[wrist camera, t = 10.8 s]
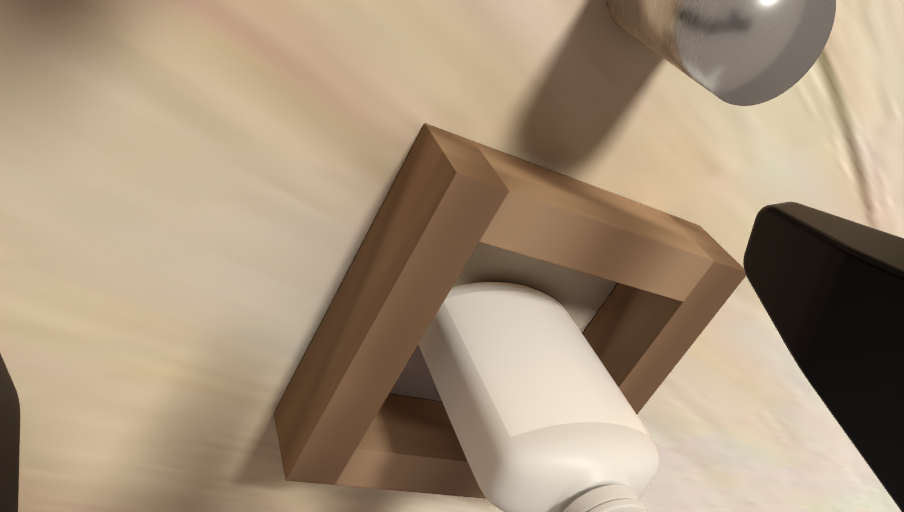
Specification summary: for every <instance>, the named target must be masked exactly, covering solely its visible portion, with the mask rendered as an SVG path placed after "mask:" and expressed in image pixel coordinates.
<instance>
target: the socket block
mask: <svg viewBox="0 0 904 512" xmlns="http://www.w3.org/2000/svg"><path fill="white" fill-rule="evenodd" d="M479 242H482V243H486V244H489V245H492V246H496V247H499V248H503V249H506V250H509V251H513V252H516V253H520V254H523V255H526V256H530V257H533V258H536V259H540V260H543V261H547V262H550V263H553V264H557V265H560V266H564V267H567V268H570V269H574V270H577V271H581V272H584V273H587V274H591V275H594V276H598V277H601V278H604V279H608V280H611V281H615V282H618V284H617V286H616V287H615V288H614V290H613V291H612V293H611V294H610V296H609V297H608V298H607V300H606V301H605V303H604V304H603V305H602V307H601V308H600V310H599V311H598V313H597V314H596V315H595V317H594V318H593V320H592V321H591V323H590V324H589V325H588V327H587V328H586V330H585V331H584V332H583V336H584V337H585V339H586V340H587V342H588V343H589V344H590V346H591V347H592V349H593V350H594V352H595V353H596V355H597V356H598V358H599V359H600V361H601V362H602V364H603V365H604V367H605V368H606V370H607V371H608V373H609V374H610V376H611V377H612V379H613V380H614V382H615V383H616V385H617V386H618V388H619V389H620V391H621V392H622V394H623V395H624V396H625V398H626V399H627V401H628V402H629V404H630V405H631V407H632V408H633V410H634V411H635V413H636V415H637V414H638V413H639V411H640V410H641V409H642V408H643V406H644V405H645V404H646V402H647V401H648V400H649V399H650V397H651V396H652V395H653V394H654V392H655V391H656V390H657V388H658V387H659V386H660V385H661V383H662V382H663V381H664V380H665V378H666V377H667V376H668V374H669V373H670V372H671V371H672V369H673V368H674V367H675V365H676V364H677V363H678V362H679V360H680V359H681V358H682V357H683V355H684V354H685V353H686V351H687V350H688V349H689V348H690V346H691V345H692V344H693V343H694V341H695V340H696V339H697V337H698V336H699V335H700V334H701V332H702V331H703V330H704V329H705V327H706V326H707V325H708V323H709V322H710V321H711V320H712V318H713V317H714V316H715V314H716V313H717V312H718V311H719V309H720V308H721V307H722V306H723V304H724V303H725V302H726V300H727V299H728V298H729V297H730V295H731V294H732V293H733V292H734V290H735V289H736V288H737V286H738V285H739V284H740V283H741V281H742V280H743V279H744V278H745V276H746V273H745V270H744V268H743V267H742V266H741V265H740V264H739V263H738V262H737V261H736V260H735V259H733V258H732V257H731V256H730V255H729V254H728V253H727V252H726V251H725V250H724V249H723V248H722V247H721V246H720V245H719V244H718V243H717V242H716V241H715V240H714V239H713V238H712V237H711V236H710V235H709V234H708V233H707V232H706V231H705V230H704V229H703V228H702V227H700V226H699V225H696V224H694V223H691V222H688V221H686V220H683V219H680V218H678V217H675V216H672V215H669V214H667V213H664V212H661V211H659V210H656V209H653V208H651V207H648V206H645V205H643V204H640V203H637V202H635V201H632V200H629V199H627V198H624V197H621V196H619V195H616V194H613V193H611V192H608V191H605V190H602V189H600V188H597V187H594V186H592V185H589V184H586V183H584V182H581V181H578V180H576V179H573V178H570V177H568V176H565V175H562V174H560V173H557V172H554V171H552V170H549V169H546V168H544V167H541V166H538V165H536V164H533V163H530V162H527V161H525V160H522V159H519V158H517V157H514V156H511V155H509V154H506V153H503V152H501V151H498V150H495V149H493V148H490V147H487V146H485V145H482V144H479V143H477V142H474V141H471V140H469V139H466V138H463V137H460V136H458V135H455V134H452V133H450V132H447V131H444V130H442V129H439V128H436V127H434V126H431V125H428V124H426V123H425V124H424V126H423V128H422V130H421V132H420V134H419V136H418V138H417V139H416V141H415V143H414V145H413V147H412V149H411V151H410V153H409V155H408V157H407V159H406V161H405V163H404V165H403V166H402V168H401V170H400V172H399V174H398V176H397V178H396V180H395V182H394V184H393V186H392V188H391V190H390V191H389V193H388V195H387V197H386V199H385V201H384V203H383V205H382V207H381V209H380V211H379V213H378V215H377V217H376V218H375V220H374V222H373V224H372V226H371V228H370V230H369V232H368V234H367V236H366V238H365V240H364V242H363V243H362V245H361V247H360V249H359V251H358V253H357V255H356V257H355V259H354V261H353V263H352V265H351V267H350V268H349V270H348V272H347V274H346V276H345V278H344V280H343V282H342V284H341V286H340V288H339V290H338V292H337V294H336V295H335V297H334V299H333V301H332V303H331V305H330V307H329V309H328V311H327V313H326V315H325V317H324V319H323V320H322V322H321V324H320V326H319V328H318V330H317V332H316V334H315V336H314V338H313V340H312V342H311V344H310V346H309V347H308V349H307V351H306V353H305V355H304V357H303V359H302V361H301V363H300V365H299V367H298V369H297V371H296V372H295V374H294V376H293V378H292V380H291V382H290V384H289V386H288V388H287V390H286V392H285V394H284V396H283V398H282V399H281V401H280V403H279V405H278V407H277V409H276V411H275V413H274V417H275V423H276V428H277V434H278V439H279V445H280V450H281V456H282V462H283V467H284V473H285V478H286V481H298V482H309V483H320V484H331V485H342V486H353V487H364V488H375V489H386V490H398V491H409V492H420V493H431V494H442V495H453V496H464V497H475V498H486V497H485V495H484V494H483V492H482V490H481V489H480V487H479V485H478V483H477V481H476V479H475V476H474V474H473V472H472V470H471V468H470V465H469V463H468V461H467V459H466V456H465V454H464V452H463V449H462V447H461V445H460V442H459V440H458V438H457V435H456V433H455V431H454V428H453V426H452V424H451V421H450V419H449V416H448V414H447V412H446V409H445V407H444V405H443V402H438V401H431V400H425V399H419V398H413V397H407V396H401V395H394V394H389V393H390V391H391V389H392V388H393V386H394V384H395V383H396V381H397V379H398V378H399V376H400V374H401V373H402V371H403V369H404V368H405V366H406V364H407V362H408V361H409V359H410V357H411V356H412V354H413V352H414V351H415V349H416V347H417V346H418V344H419V342H420V341H421V339H422V337H423V336H424V334H425V332H426V331H427V329H428V327H429V325H430V324H431V322H432V320H433V319H434V317H435V315H436V314H437V312H438V310H439V309H440V307H441V305H442V304H443V302H444V300H445V299H446V297H447V295H448V293H449V292H450V290H451V288H452V287H453V285H454V283H455V282H456V280H457V278H458V277H459V275H460V273H461V272H462V270H463V268H464V267H465V265H466V263H467V262H468V260H469V258H470V256H471V255H472V253H473V251H474V250H475V248H476V246H477V245H478V243H479ZM486 499H487V498H486Z"/></svg>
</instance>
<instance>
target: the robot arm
mask: <svg viewBox="0 0 904 512" xmlns="http://www.w3.org/2000/svg"><path fill="white" fill-rule="evenodd" d="M743 264H744V270H745V273H746V276H747V278H748V280H749V282H750V283H751V285H752V287H753V289H754V290H755V292H756V294H757V295H758V297H759V299H760V301H761V302H762V304H763V306H764V308H765V309H766V311H767V313H768V315H769V316H770V318H771V320H772V322H773V323H774V325H775V327H776V329H777V330H778V332H779V334H780V336H781V337H782V339H783V341H784V343H785V344H786V346H787V348H788V350H789V351H790V353H791V355H792V356H793V358H794V360H795V361H796V363H797V365H798V366H799V368H800V369H801V371H802V372H803V374H804V375H805V377H806V378H807V380H808V381H809V383H810V384H811V386H812V387H813V388H814V390H815V391H816V392H817V394H818V395H819V397H820V398H821V399H822V401H823V402H824V404H825V405H826V406H827V408H828V409H829V411H830V412H831V413H832V415H833V416H834V418H835V419H836V420H837V422H838V423H839V425H840V426H841V427H842V429H843V430H844V432H845V433H846V434H847V436H848V437H849V439H850V440H851V441H852V443H853V444H854V446H855V447H856V448H857V450H858V451H859V453H860V454H861V455H862V457H863V458H864V460H865V461H866V462H867V464H868V465H869V467H870V468H871V469H872V471H873V472H874V474H875V475H876V476H877V478H878V479H879V481H880V482H881V483H882V485H883V486H884V488H885V489H886V490H887V492H888V493H889V495H890V496H891V497H892V499H893V500H894V502H895V503H896V504H897V506H898V507H899V509H900V510H901V511H902V512H904V238H901V237H898V236H895V235H892V234H889V233H886V232H883V231H880V230H877V229H874V228H871V227H868V226H865V225H862V224H859V223H856V222H853V221H850V220H847V219H844V218H841V217H838V216H835V215H832V214H829V213H826V212H823V211H820V210H817V209H814V208H811V207H808V206H805V205H802V204H799V203H795V202H785V203H779V204H773V205H767V206H765V207H763V208H762V209H761V210H760V211H759V212H758V214H757V216H756V219H755V222H754V225H753V228H752V232H751V235H750V238H749V241H748V245H747V248H746V251H745V254H744V262H743ZM19 448H20V404H19V398H18V394H17V391H16V388H15V386H14V384H13V381H12V379H11V377H10V375H9V372H8V370H7V368H6V365H5V363H4V361H3V358H2V356H1V354H0V512H18V490H19Z"/></svg>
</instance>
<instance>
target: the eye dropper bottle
mask: <svg viewBox="0 0 904 512" xmlns="http://www.w3.org/2000/svg"><path fill="white" fill-rule="evenodd" d="M418 345H419V347H420V350H421V352H422V355H423V357H424V359H425V362H426V364H427V367H428V369H429V371H430V374H431V376H432V378H433V381H434V383H435V386H436V388H437V390H438V393H439V395H440V398H441V400H442V402H443V405H444V407H445V409H446V412H447V414H448V416H449V419H450V421H451V424H452V426H453V428H454V431H455V433H456V435H457V438H458V440H459V442H460V445H461V447H462V449H463V452H464V454H465V456H466V459H467V461H468V463H469V465H470V468H471V470H472V472H473V474H474V476H475V479H476V481H477V483H478V485H479V487H480V489H481V490H482V492H483V494H484V495H485V497H486V498H487V499H488V500H489V501H490V502H491V503H492V504H493V505H494V506H496V507H497V508H499V509H501V510H502V511H504V512H647V511H646V510H645V508H644V507H643V505H642V503H641V502H640V500H639V499H640V498H641V497H642V495H643V494H644V493H645V492H646V490H647V489H648V487H649V486H650V484H651V483H652V481H653V479H654V477H655V475H656V473H657V470H658V465H659V453H658V450H657V448H656V446H655V444H654V442H653V440H652V438H651V436H650V435H649V433H648V432H647V430H646V429H645V427H644V425H643V424H642V422H641V421H640V419H639V418H638V416H637V415H636V413H635V411H634V410H633V408H632V407H631V405H630V404H629V402H628V401H627V399H626V398H625V396H624V395H623V394H622V392H621V391H620V389H619V388H618V386H617V385H616V383H615V382H614V380H613V379H612V377H611V376H610V374H609V373H608V371H607V370H606V368H605V367H604V365H603V364H602V362H601V361H600V359H599V358H598V356H597V355H596V353H595V352H594V350H593V349H592V347H591V346H590V344H589V343H588V342H587V340H586V339H585V337H584V336H583V334H582V333H581V331H580V330H579V328H578V327H577V325H576V324H575V322H574V321H573V319H572V318H571V316H570V315H569V314H568V312H567V311H566V309H565V308H564V307H563V305H562V304H560V303H559V302H558V301H556V300H555V299H554V298H552V297H550V296H549V295H547V294H545V293H543V292H541V291H538V290H536V289H533V288H530V287H527V286H523V285H519V284H514V283H507V282H479V283H470V284H464V285H459V286H454V287H452V288H451V290H450V292H449V293H448V295H447V297H446V299H445V300H444V302H443V304H442V305H441V307H440V309H439V310H438V312H437V314H436V315H435V317H434V319H433V320H432V322H431V324H430V325H429V327H428V329H427V331H426V332H425V334H424V336H423V337H422V339H421V341H420V342H419V344H418Z"/></svg>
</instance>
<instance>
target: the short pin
mask: <svg viewBox="0 0 904 512" xmlns="http://www.w3.org/2000/svg"><path fill="white" fill-rule="evenodd" d="M607 5H608V8H609V11H610V13H611V15H612V17H613V19H614V20H615V22H616V23H617V24H618V25H619V26H620V27H621V28H622V29H623V30H625V31H626V32H628V33H629V34H630V35H632V36H633V37H635V38H636V39H637V40H639V41H640V42H642V43H643V44H644V45H646V46H647V47H649V48H650V49H651V50H653V51H654V52H656V53H657V54H658V55H660V56H661V57H663V58H664V59H665V60H667V61H668V62H670V63H671V64H672V65H674V66H675V67H677V68H678V69H679V70H681V71H682V72H683V73H685V74H686V75H688V76H689V77H690V78H692V79H693V80H695V81H696V82H697V83H699V84H700V85H702V86H703V87H704V88H706V89H707V90H709V91H710V92H711V93H713V94H714V95H716V96H717V97H718V98H720V99H721V100H723V101H725V102H727V103H729V104H733V105H739V106H749V105H755V104H760V103H763V102H766V101H768V100H771V99H773V98H775V97H777V96H779V95H780V94H782V93H784V92H785V91H786V90H788V89H789V88H791V87H792V86H793V85H794V84H795V83H797V82H798V81H799V80H800V79H801V78H802V77H803V76H804V75H805V74H806V73H807V72H808V70H809V69H810V68H811V67H812V66H813V64H814V63H815V61H816V60H817V58H818V57H819V55H820V54H821V52H822V50H823V48H824V47H825V44H826V42H827V40H828V38H829V35H830V32H831V30H832V26H833V22H834V17H835V11H836V0H607Z"/></svg>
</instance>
